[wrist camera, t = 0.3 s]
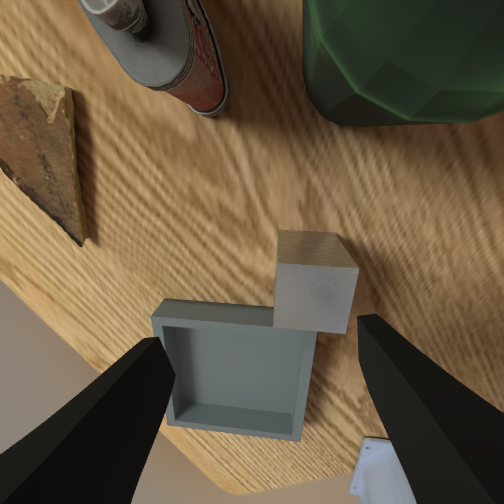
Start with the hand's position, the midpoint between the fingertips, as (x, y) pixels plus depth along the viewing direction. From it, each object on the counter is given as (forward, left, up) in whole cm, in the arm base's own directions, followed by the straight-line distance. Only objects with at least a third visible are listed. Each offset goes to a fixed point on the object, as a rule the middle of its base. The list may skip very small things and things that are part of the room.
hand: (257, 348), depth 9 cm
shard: (+6, +15, -11) cm, 20 cm away
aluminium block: (-1, -3, -10) cm, 11 cm away
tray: (-12, +2, -10) cm, 16 cm away
